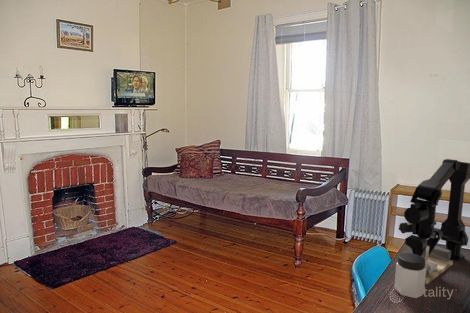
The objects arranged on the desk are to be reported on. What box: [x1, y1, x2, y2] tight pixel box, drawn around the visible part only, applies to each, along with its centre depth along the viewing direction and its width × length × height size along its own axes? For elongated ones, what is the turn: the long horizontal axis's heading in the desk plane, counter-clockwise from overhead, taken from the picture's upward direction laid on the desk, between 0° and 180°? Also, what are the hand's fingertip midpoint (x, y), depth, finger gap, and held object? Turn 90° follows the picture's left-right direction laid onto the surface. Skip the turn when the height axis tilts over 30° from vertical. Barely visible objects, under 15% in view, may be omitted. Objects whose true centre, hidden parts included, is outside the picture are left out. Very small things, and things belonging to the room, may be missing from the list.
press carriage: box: [422, 245, 438, 276], centre depth 132 cm, size 8×8×9 cm
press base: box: [425, 245, 454, 285], centre depth 136 cm, size 24×10×6 cm, turn 131°
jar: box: [394, 252, 426, 299], centre depth 119 cm, size 9×8×12 cm
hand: (422, 258), depth 132 cm, fingers open, 9 cm apart
